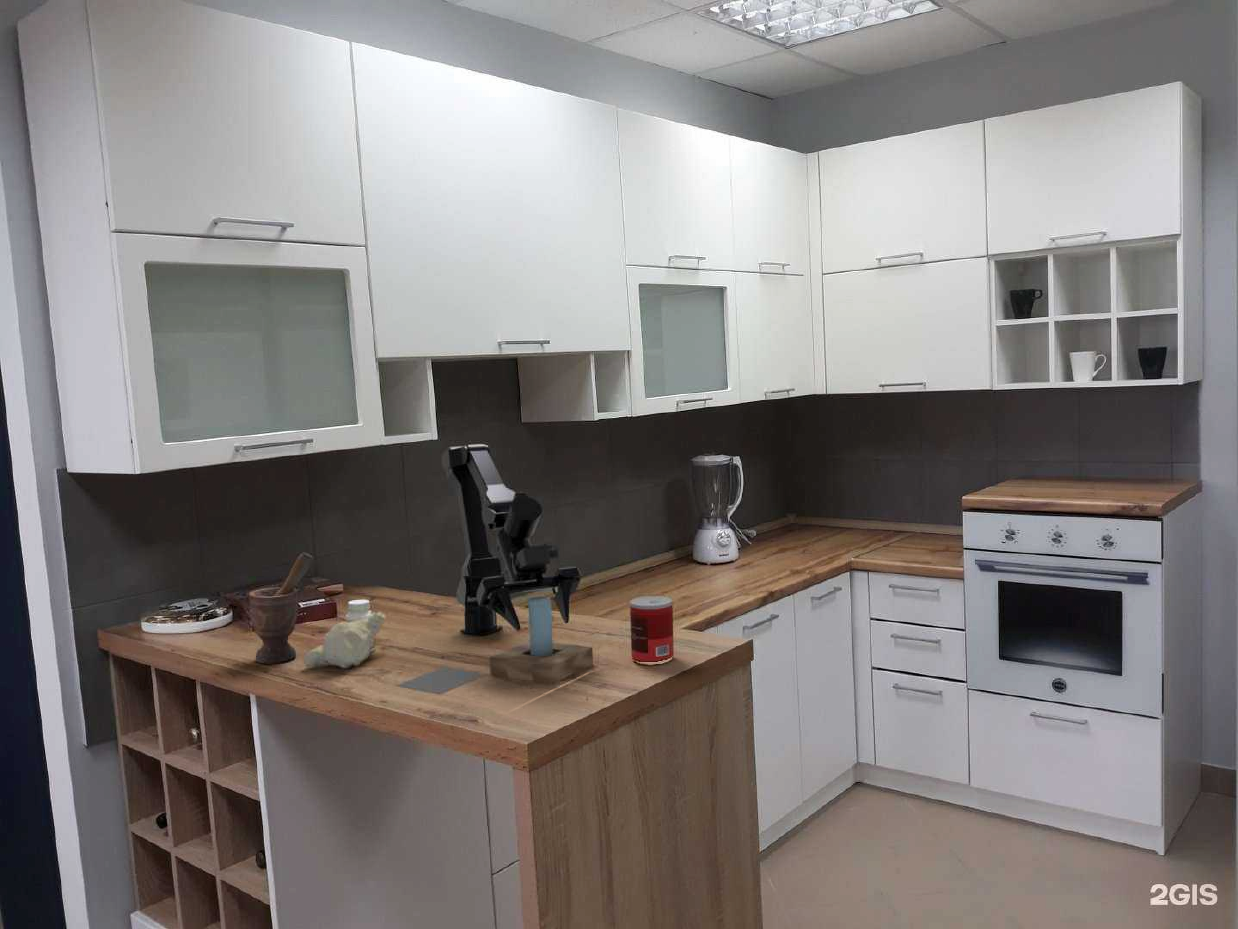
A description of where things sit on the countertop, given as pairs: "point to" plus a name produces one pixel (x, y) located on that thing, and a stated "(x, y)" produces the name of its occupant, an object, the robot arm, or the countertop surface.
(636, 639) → the canned food
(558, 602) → the robot arm
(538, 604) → the light blue cylinder
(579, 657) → the block
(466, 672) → the mat
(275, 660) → the mortar and pestle
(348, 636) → the cream lumpy knobby chunk
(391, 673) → the countertop surface
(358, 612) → the supplement bottle
